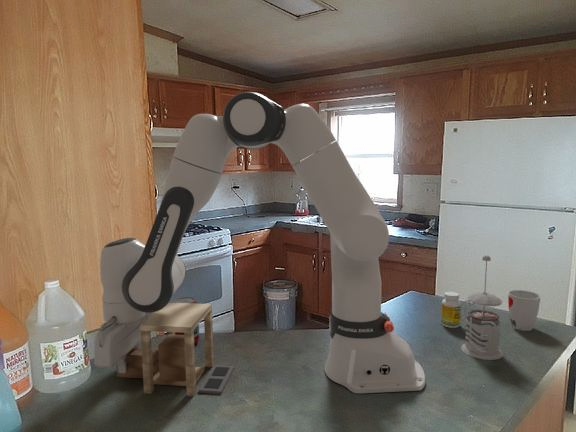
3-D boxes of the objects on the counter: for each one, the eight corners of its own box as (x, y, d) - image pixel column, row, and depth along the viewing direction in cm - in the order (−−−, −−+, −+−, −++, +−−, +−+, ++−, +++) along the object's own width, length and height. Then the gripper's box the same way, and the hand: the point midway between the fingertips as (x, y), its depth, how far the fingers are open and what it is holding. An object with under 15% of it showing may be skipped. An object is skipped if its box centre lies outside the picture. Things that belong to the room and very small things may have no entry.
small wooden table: (213, 364, 101) (211, 304, 99) (193, 396, 87) (190, 327, 85) (170, 361, 102) (167, 302, 100) (144, 393, 89) (140, 325, 87)
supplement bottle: (445, 320, 127) (447, 289, 126) (463, 324, 123) (464, 293, 122) (437, 324, 124) (438, 293, 122) (455, 330, 120) (456, 297, 118)
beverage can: (193, 349, 109) (191, 305, 108) (169, 347, 111) (167, 303, 109) (203, 338, 116) (201, 296, 114) (180, 336, 117) (179, 295, 115)
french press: (483, 363, 100) (489, 261, 97) (447, 344, 111) (451, 252, 107) (512, 355, 104) (518, 257, 101) (474, 337, 115) (478, 248, 111)
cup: (508, 320, 127) (510, 288, 125) (539, 326, 122) (541, 293, 121) (504, 328, 120) (506, 295, 119) (536, 335, 115) (539, 300, 114)
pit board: (234, 368, 99) (234, 365, 99) (221, 394, 88) (221, 390, 88) (214, 367, 99) (213, 364, 99) (198, 392, 89) (198, 389, 88)
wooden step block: (204, 370, 98) (202, 334, 96) (193, 386, 91) (192, 348, 90) (128, 366, 100) (125, 331, 99) (112, 381, 93) (109, 344, 92)
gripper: (112, 328, 84) (117, 392, 85) (156, 295, 104) (159, 348, 106) (83, 327, 84) (88, 390, 86) (133, 294, 105) (136, 347, 106)
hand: (128, 367), depth 96 cm, fingers closed on wooden step block, 3 cm apart
